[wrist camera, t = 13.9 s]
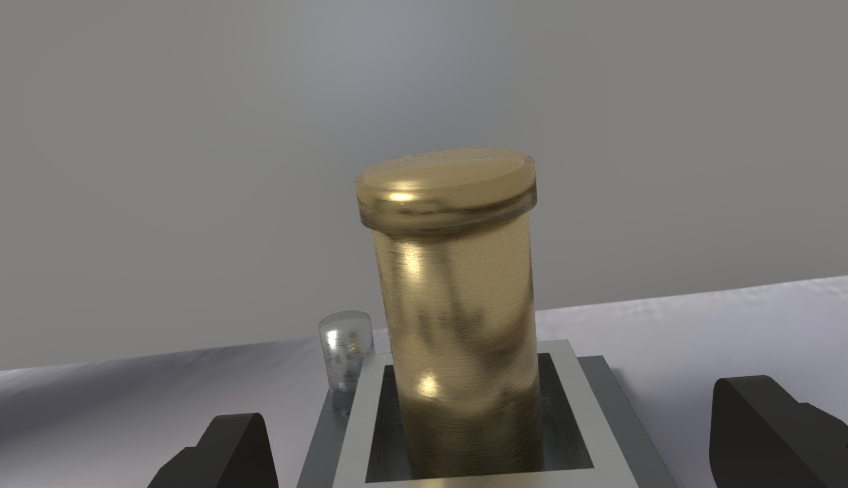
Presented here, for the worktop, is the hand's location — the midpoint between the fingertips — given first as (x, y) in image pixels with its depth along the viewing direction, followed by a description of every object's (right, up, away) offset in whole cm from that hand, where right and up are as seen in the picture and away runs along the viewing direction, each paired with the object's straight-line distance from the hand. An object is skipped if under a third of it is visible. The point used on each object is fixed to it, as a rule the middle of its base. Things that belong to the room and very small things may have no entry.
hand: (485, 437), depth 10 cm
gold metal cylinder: (+1, -5, +11) cm, 12 cm away
